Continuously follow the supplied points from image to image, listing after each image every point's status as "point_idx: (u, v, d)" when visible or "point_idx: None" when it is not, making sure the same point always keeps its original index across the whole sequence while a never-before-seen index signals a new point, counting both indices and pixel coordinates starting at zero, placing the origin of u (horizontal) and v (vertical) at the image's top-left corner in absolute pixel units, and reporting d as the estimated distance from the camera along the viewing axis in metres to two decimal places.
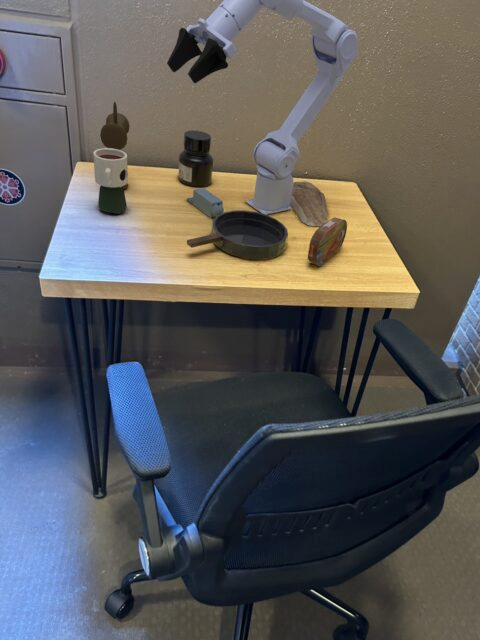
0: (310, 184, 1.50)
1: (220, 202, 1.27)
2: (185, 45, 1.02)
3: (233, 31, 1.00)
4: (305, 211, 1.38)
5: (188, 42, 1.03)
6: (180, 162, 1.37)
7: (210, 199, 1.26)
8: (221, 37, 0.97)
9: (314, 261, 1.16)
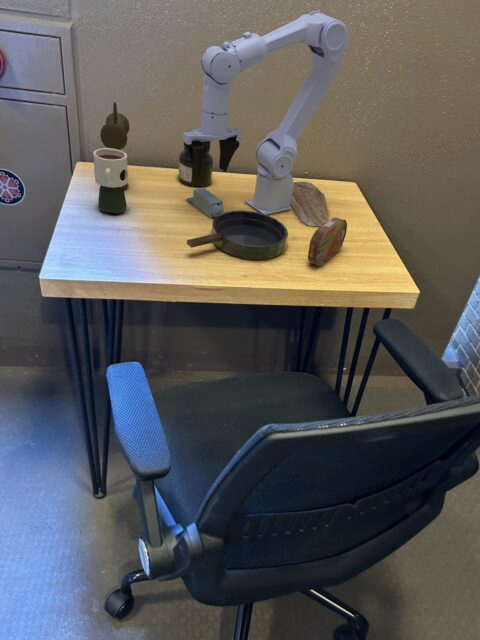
0: (310, 184, 1.50)
1: (220, 202, 1.27)
2: (222, 147, 1.23)
3: (205, 118, 1.14)
4: (305, 211, 1.38)
5: (224, 144, 1.23)
6: (180, 162, 1.37)
7: (210, 199, 1.26)
8: None
9: (314, 261, 1.15)
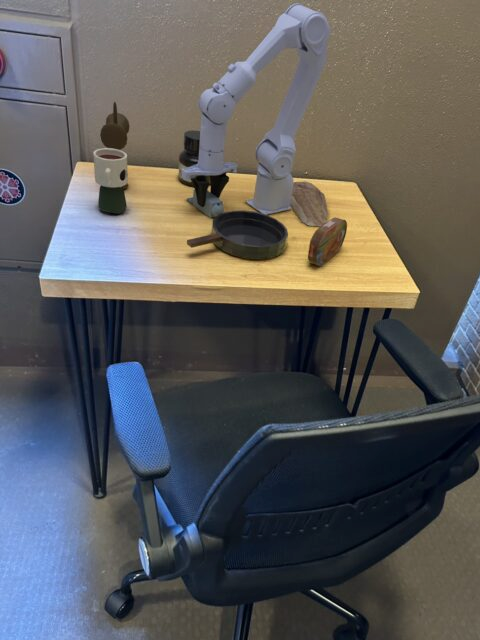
0: (310, 184, 1.50)
1: (220, 202, 1.27)
2: (212, 182, 1.28)
3: (202, 155, 1.20)
4: (305, 211, 1.38)
5: (214, 178, 1.27)
6: (180, 162, 1.37)
7: (210, 199, 1.26)
8: None
9: (314, 261, 1.16)
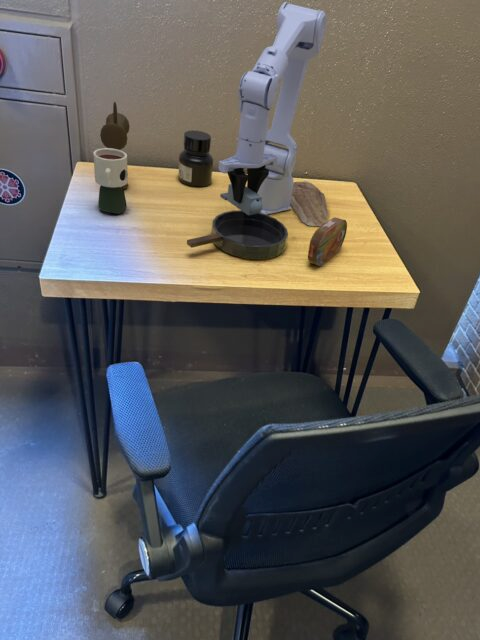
0: (310, 184, 1.50)
1: (259, 198, 1.15)
2: (250, 175, 1.16)
3: (242, 146, 1.08)
4: (305, 211, 1.38)
5: (252, 172, 1.15)
6: (180, 162, 1.37)
7: (248, 194, 1.15)
8: None
9: (314, 261, 1.16)
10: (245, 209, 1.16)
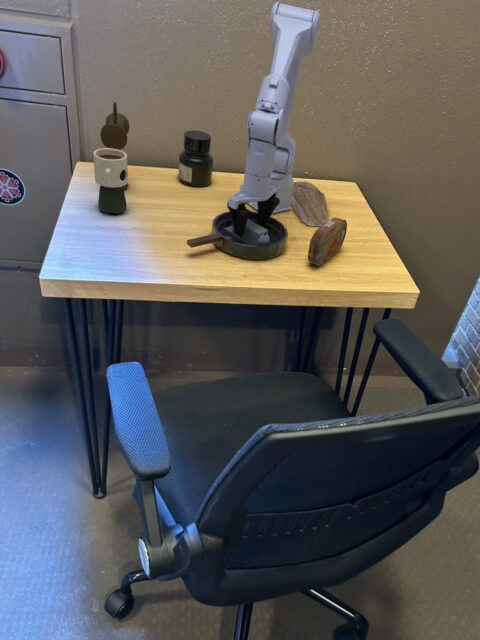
0: (310, 184, 1.50)
1: (266, 231, 1.18)
2: (261, 204, 1.19)
3: (250, 181, 1.10)
4: (305, 211, 1.38)
5: (263, 201, 1.19)
6: (180, 162, 1.37)
7: (255, 229, 1.18)
8: None
9: (314, 261, 1.16)
10: (253, 243, 1.19)
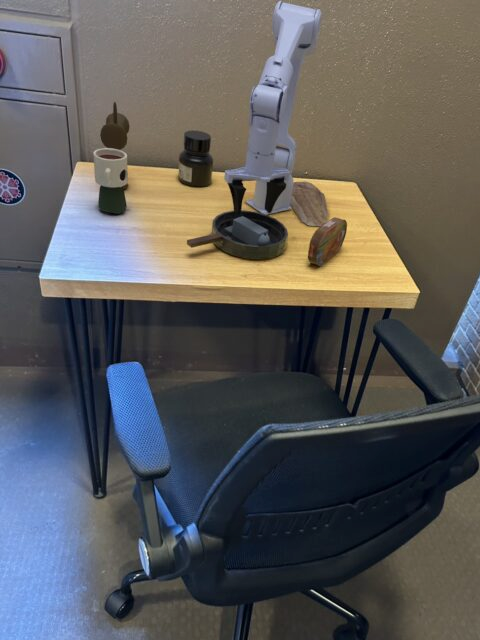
0: (310, 184, 1.50)
1: (266, 231, 1.18)
2: None
3: None
4: (305, 211, 1.38)
5: None
6: (180, 162, 1.37)
7: (255, 229, 1.18)
8: (280, 175, 1.12)
9: (314, 261, 1.16)
10: (253, 243, 1.19)
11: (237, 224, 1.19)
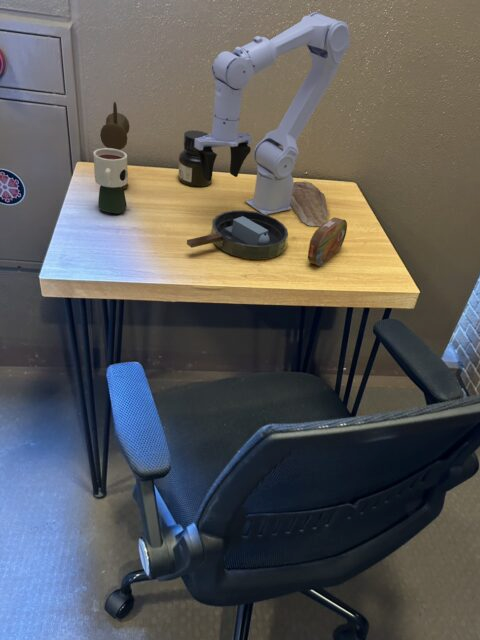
0: (310, 184, 1.50)
1: (266, 231, 1.18)
2: None
3: None
4: (305, 211, 1.38)
5: None
6: (180, 162, 1.37)
7: (255, 229, 1.18)
8: (244, 139, 1.19)
9: (314, 261, 1.16)
10: (253, 243, 1.19)
11: (237, 224, 1.19)
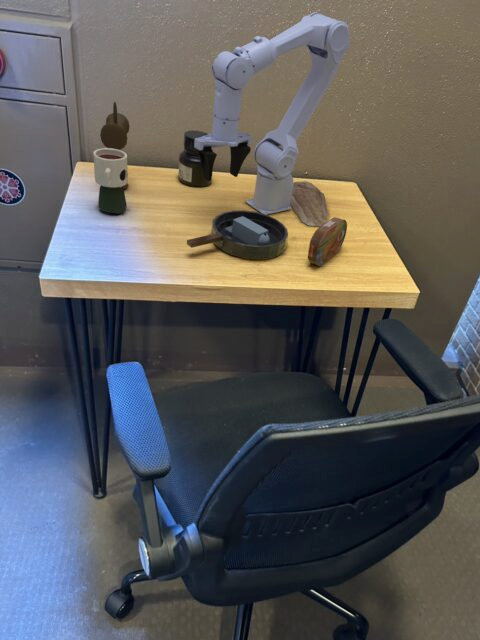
0: (310, 184, 1.50)
1: (266, 231, 1.18)
2: None
3: None
4: (305, 211, 1.38)
5: None
6: (180, 162, 1.37)
7: (255, 229, 1.18)
8: (244, 139, 1.19)
9: (314, 261, 1.15)
10: (253, 243, 1.19)
11: (237, 224, 1.19)
